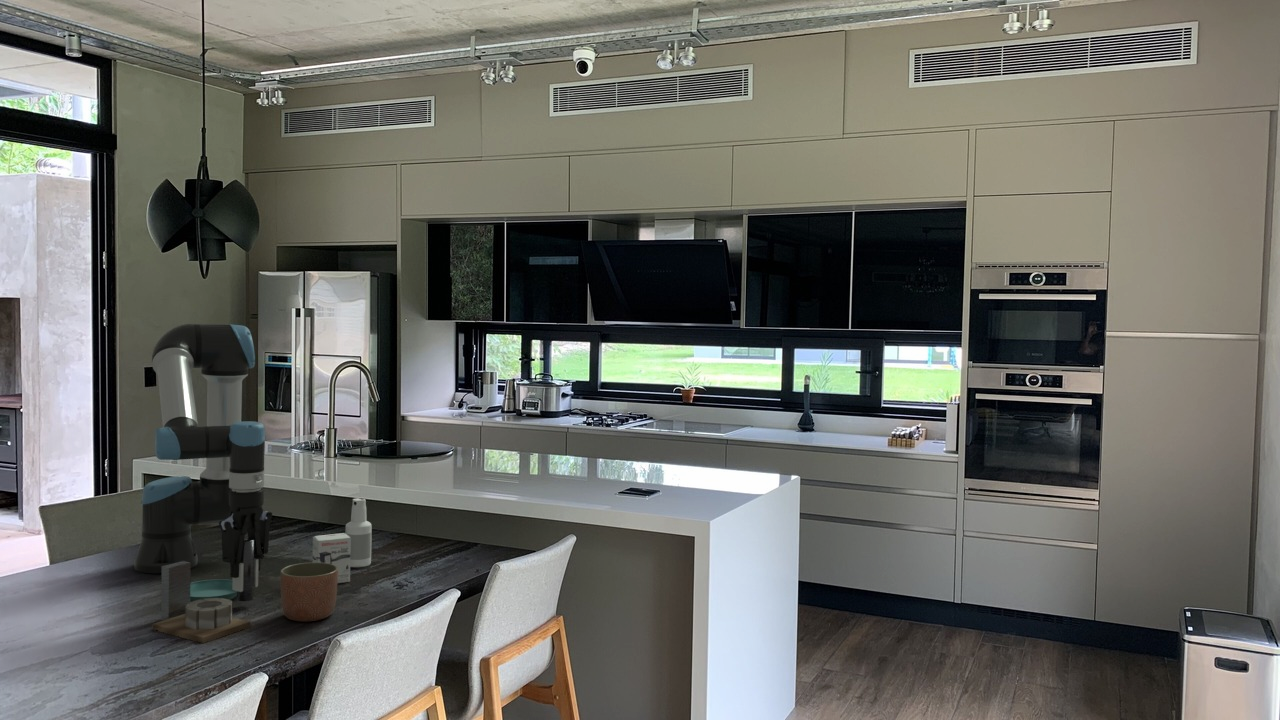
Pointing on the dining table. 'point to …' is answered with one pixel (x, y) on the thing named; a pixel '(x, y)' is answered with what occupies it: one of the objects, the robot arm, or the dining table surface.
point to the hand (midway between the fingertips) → (245, 587)
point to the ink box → (334, 553)
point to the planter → (308, 591)
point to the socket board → (198, 634)
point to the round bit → (247, 571)
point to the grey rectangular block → (175, 589)
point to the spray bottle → (359, 535)
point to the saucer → (212, 589)
